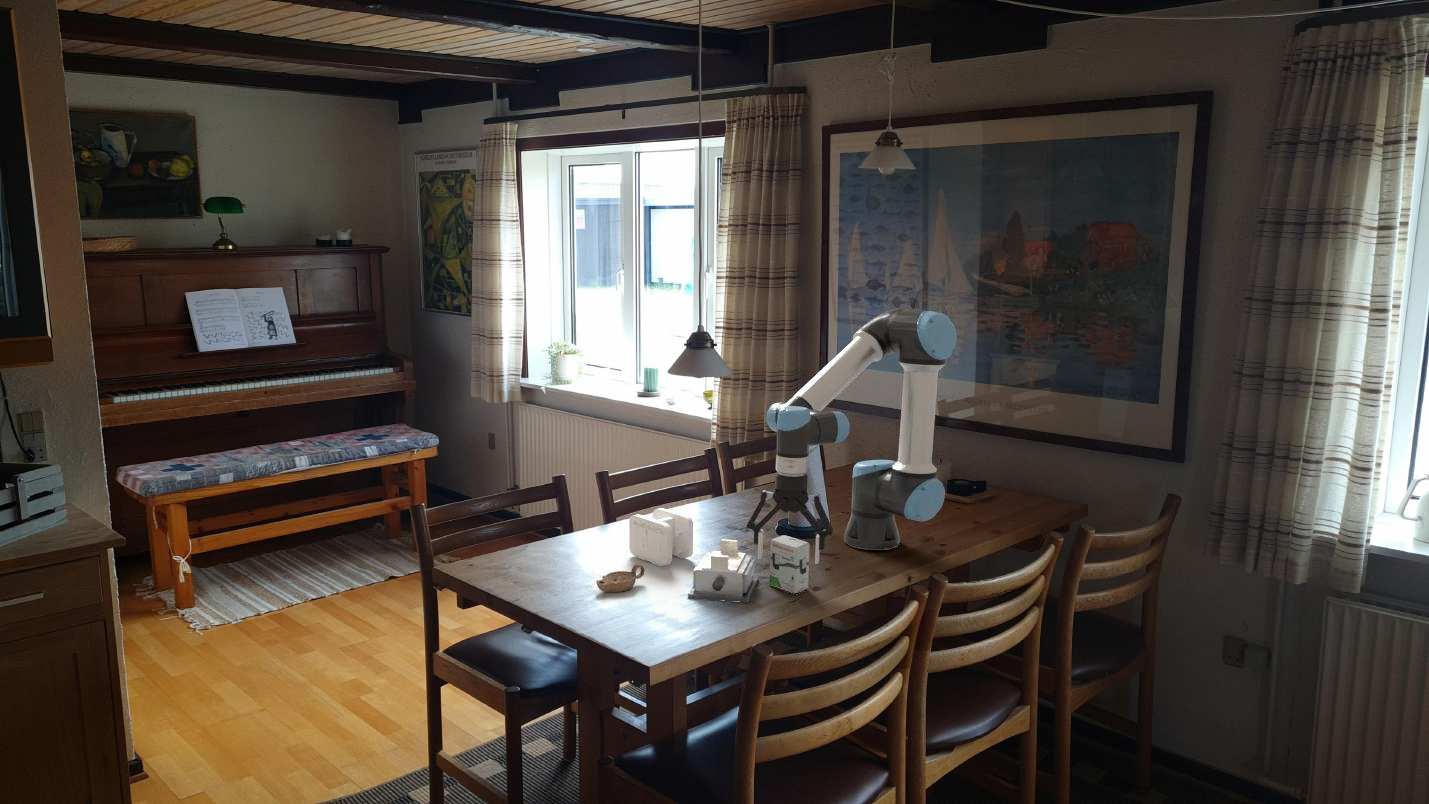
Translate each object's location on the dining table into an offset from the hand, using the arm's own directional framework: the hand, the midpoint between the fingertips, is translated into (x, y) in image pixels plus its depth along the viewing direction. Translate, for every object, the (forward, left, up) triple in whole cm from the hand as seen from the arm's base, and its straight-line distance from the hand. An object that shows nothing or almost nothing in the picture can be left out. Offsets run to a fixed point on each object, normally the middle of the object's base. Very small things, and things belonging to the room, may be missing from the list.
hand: (788, 560), depth 234 cm
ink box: (0, 0, -7) cm, 7 cm away
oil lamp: (+39, +9, -7) cm, 40 cm away
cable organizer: (+35, -14, -7) cm, 38 cm away
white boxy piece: (+15, +4, -7) cm, 17 cm away
